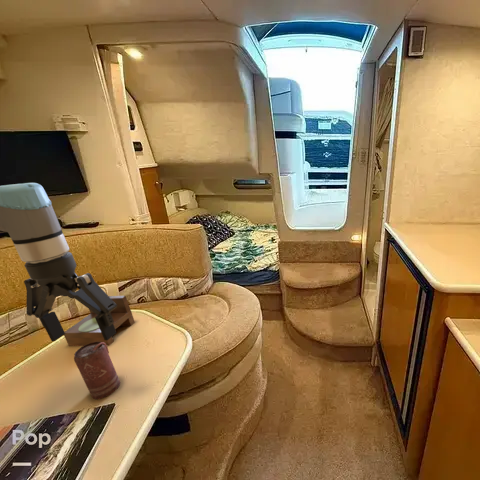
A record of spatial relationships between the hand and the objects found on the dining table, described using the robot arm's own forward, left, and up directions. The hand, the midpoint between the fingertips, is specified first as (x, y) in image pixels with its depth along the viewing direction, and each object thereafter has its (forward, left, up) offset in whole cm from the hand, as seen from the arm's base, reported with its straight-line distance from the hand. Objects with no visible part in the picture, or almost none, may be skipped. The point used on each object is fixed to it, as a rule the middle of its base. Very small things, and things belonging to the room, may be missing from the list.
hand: (84, 337), depth 65 cm
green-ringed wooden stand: (-20, +22, -18) cm, 35 cm away
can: (0, 0, -18) cm, 18 cm away
